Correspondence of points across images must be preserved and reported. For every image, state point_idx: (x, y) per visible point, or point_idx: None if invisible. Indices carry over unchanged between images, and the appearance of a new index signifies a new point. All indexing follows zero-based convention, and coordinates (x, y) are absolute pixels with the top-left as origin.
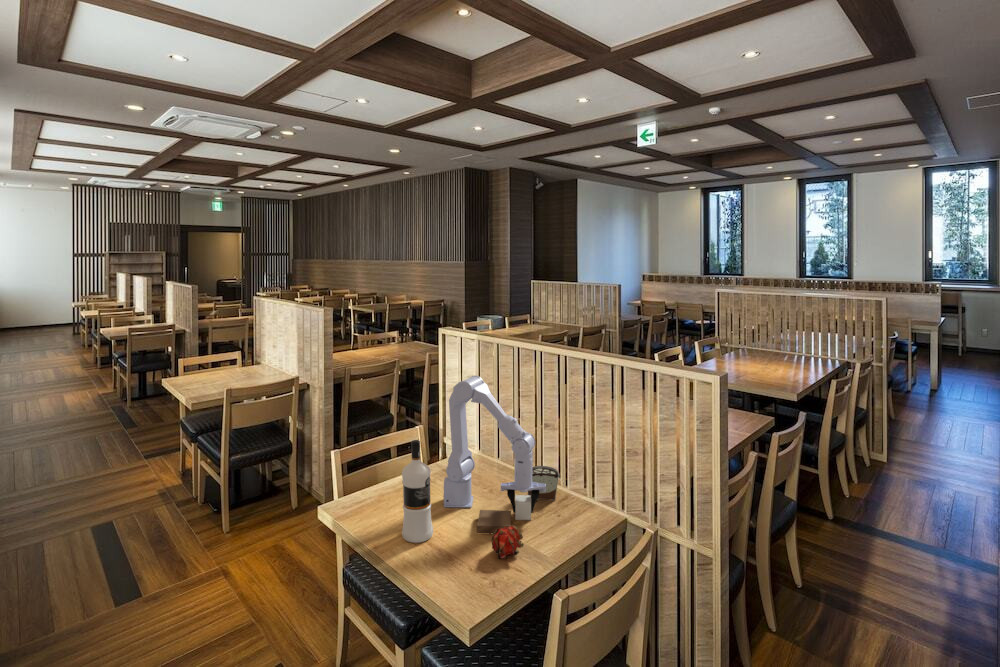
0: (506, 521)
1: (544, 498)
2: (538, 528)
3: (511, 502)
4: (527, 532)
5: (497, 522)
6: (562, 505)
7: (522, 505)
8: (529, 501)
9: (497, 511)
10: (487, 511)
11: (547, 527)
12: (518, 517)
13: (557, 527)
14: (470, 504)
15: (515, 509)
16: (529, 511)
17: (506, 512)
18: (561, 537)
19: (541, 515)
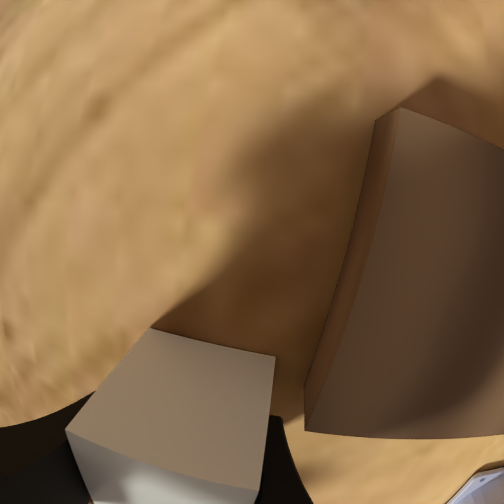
0: (417, 237)
1: None
2: (105, 190)
3: (303, 496)
4: (204, 130)
5: (501, 231)
6: (14, 406)
7: (175, 439)
8: (85, 452)
9: (425, 425)
10: (487, 420)
11: (50, 200)
12: (245, 364)
13: (6, 195)
14: (470, 488)
15: (266, 422)
16: (127, 373)
17: (357, 410)
18: (12, 73)
19: (83, 364)
